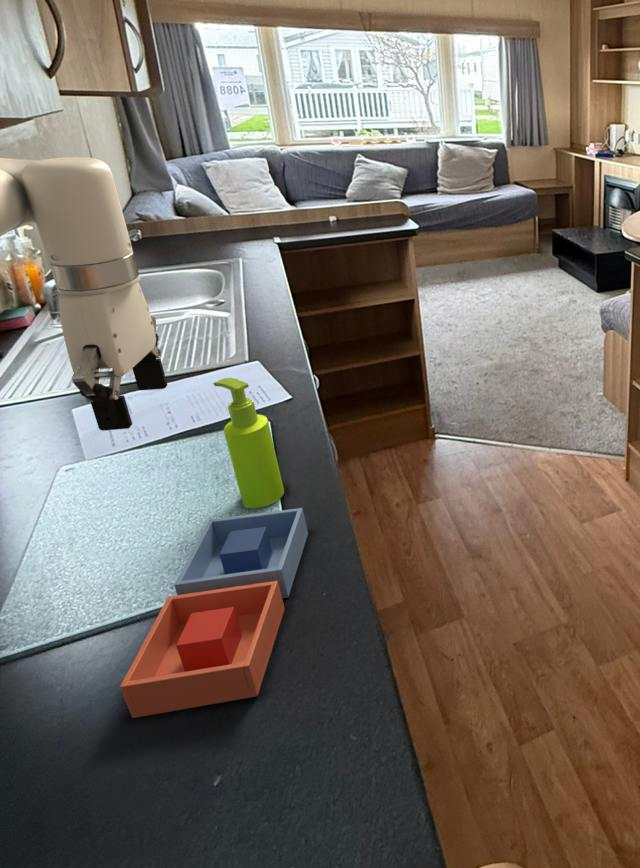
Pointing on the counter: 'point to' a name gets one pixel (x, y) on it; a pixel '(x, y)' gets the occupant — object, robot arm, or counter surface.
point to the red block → (209, 639)
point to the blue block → (246, 551)
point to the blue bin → (209, 573)
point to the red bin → (176, 689)
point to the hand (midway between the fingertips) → (136, 407)
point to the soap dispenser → (251, 449)
